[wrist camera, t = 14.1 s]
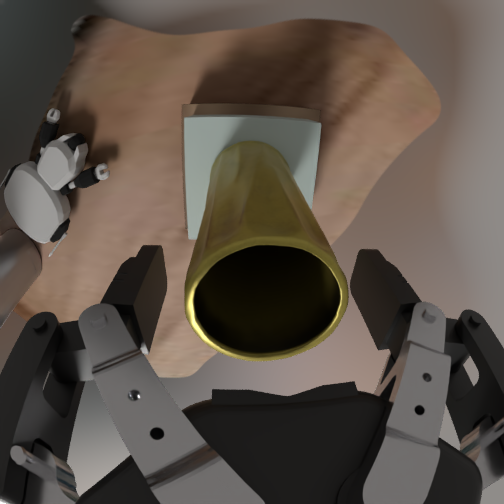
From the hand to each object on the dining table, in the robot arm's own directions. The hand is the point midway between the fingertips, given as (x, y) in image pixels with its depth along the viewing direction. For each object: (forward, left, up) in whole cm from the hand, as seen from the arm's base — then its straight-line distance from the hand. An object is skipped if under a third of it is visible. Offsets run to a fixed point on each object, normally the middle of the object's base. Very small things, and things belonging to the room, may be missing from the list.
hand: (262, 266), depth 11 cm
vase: (0, 0, -12) cm, 12 cm away
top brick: (0, 0, -15) cm, 15 cm away
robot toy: (-23, -1, -20) cm, 31 cm away
